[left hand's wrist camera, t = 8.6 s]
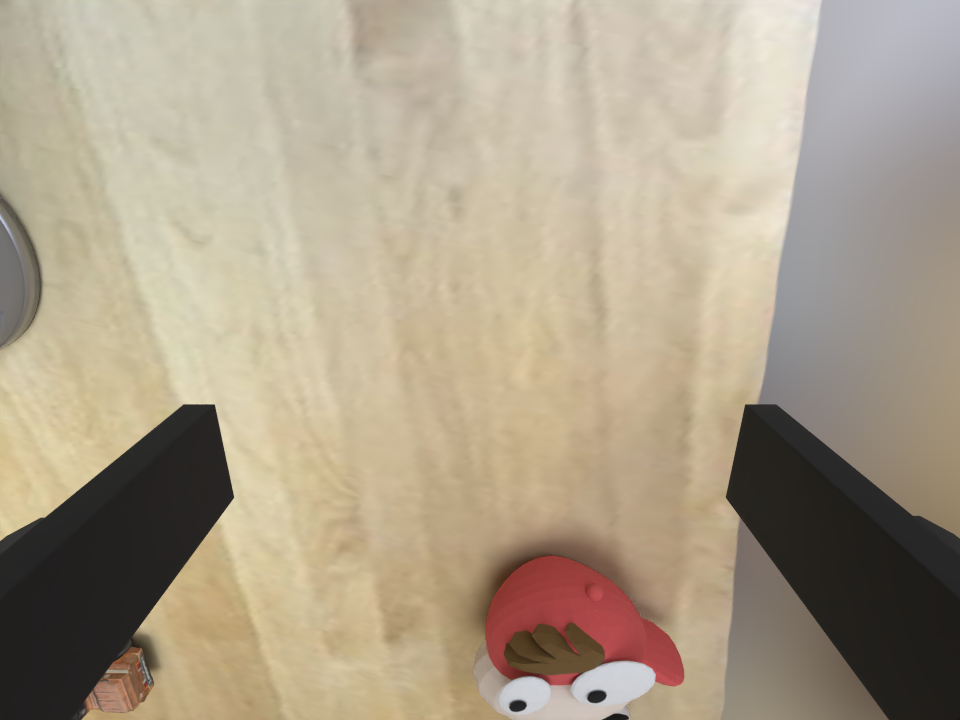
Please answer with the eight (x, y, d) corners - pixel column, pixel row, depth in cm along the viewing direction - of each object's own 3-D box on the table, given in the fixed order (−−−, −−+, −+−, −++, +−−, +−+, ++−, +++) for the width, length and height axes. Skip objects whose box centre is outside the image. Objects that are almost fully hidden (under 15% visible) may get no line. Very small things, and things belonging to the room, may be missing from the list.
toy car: (168, 673, 51) (123, 747, 44) (54, 685, 51) (-8, 760, 45) (144, 625, 48) (93, 697, 42) (25, 638, 49) (-45, 711, 42)
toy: (482, 854, 48) (475, 662, 34) (472, 735, 57) (465, 545, 43) (669, 828, 50) (736, 634, 36) (632, 716, 59) (674, 526, 45)
